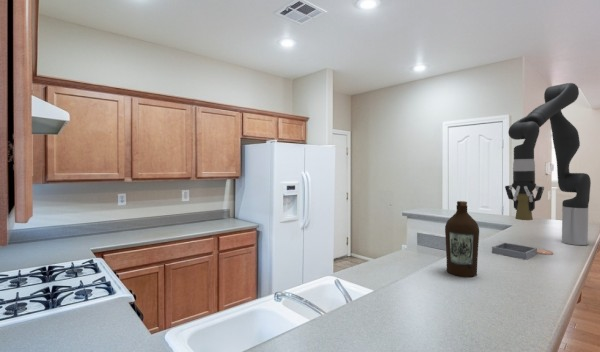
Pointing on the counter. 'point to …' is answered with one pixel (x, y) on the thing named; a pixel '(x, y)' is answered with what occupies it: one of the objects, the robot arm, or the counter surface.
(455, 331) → the counter surface
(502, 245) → the bin frame
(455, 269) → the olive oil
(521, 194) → the cork
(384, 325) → the counter surface
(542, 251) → the salmon pink disc
